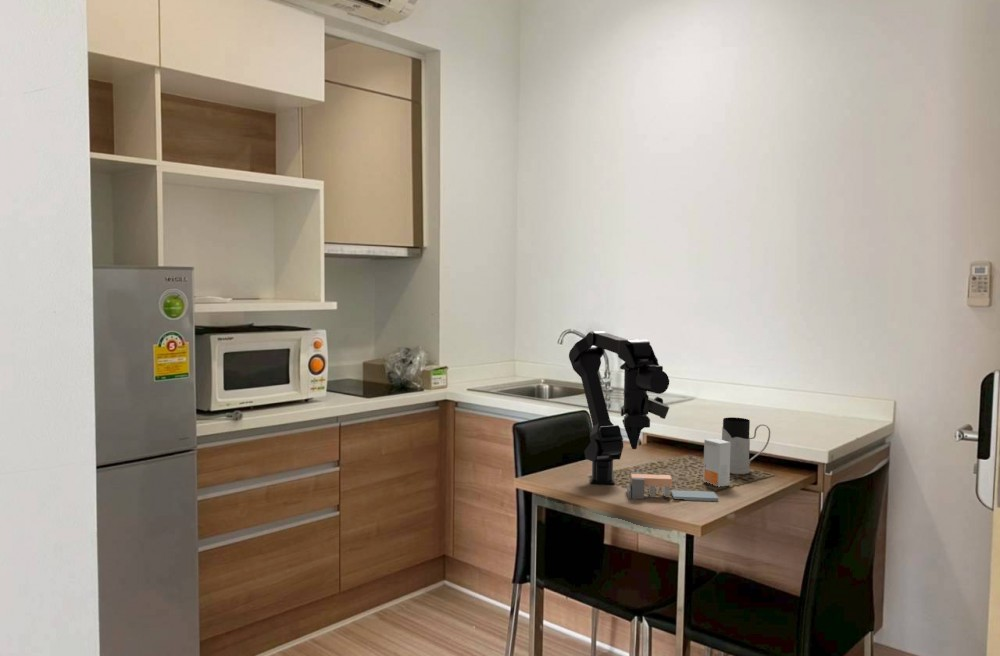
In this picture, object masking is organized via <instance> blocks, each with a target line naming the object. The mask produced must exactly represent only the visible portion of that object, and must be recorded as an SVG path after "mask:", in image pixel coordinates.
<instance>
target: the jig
mask: <svg viewBox="0 0 1000 656" xmlns="http://www.w3.org/2000/svg"><path fill="white" fill-rule="evenodd" d="M631 474H643V472H637V471H636V472H630V475H629V478H630V482H629V483H628V482H627V483H626V492H627V497H628V499H630V500H631V499H634V500H645V486H644V478H632V484H631ZM670 489H671V487H663V493H664V495H663V497H664V496H665V497H670V494H671V490H670ZM648 495H650V496H649V497H650V498H655V496H656V486H648ZM665 497H664V498H665Z"/></svg>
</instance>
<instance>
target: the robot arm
mask: <svg viewBox="0 0 1000 656" xmlns="http://www.w3.org/2000/svg"><path fill="white" fill-rule="evenodd" d="M605 351H609V352H611V353H615V354H616V355H617V357H618V359H619V360H621V361H623V362H624V363H622V364H621V366H620V367H619V369H620V370H623V371H624V376H623V377H624V378H623V382H624V383H623V405H622V406H620V416H621V417H623V419H621V420H622V423H623V424H622V425H623V427H624V430H625V433H626V436H627V438H628V442H629V444H630V447H631V449H632V450H636V449H637V447H638V444H639V439H640V435H641V432H642V430H643V429H645V428H651V419H650V417H649V413H650V414H652V415H655V416H657V417H659V418H661V419H662V420H663V419H664V420H665V419H666V418H667V415H668V413H669V409H670V406H669V405H667V404H666V403H664V400H663V398H662V397H659V396H656V397H655V398H654V399H653V398H650V397H649V394H648V393H652V394H658V395H659V394H663V393H665V392H666V391H667V390H668V389H669V386H670V379H669V375H668V374H667V373H666V372H665V371H663V370H664V367H663V365H660V363H659V361H658V360H659V359H658V358H657V356H656V354H655V352H654V349H653V347H652V345H651V343H650V341H649V340H648V339H626V338H625V337H624V338H623V337H620V336H617V335H614V334H610V333H609V332H608V333H607V332H606V331H603V330H600V331H599V330H598V331H597V330H596V331H595V330H593V331H590V332H588V333H587V334H586V336H584V337H583V338H582V339H580V340H579V341H577V342H576V343H574V344H573V346H572V348H571V349H570V350H569V353H568V359H569V361H570V364H571V366H572V367H571V368H572V370H573V371H574V372H575V373H576V374H577V375H578V376H579V377H580V380H581V382H582V386H583V391H584V394H585V399H586V400H585V401H586V405H587V407H588V410H589V415H590V419H591V424H592V428H591V431H590V434H589V441H590V443H588V445H587V447H586V448H585V449H584V452H583V453H584V458H585V460H588V461H591V465H592V466H591V476H590V477H589V480H590V484H597V485H598V484H599V485H600V484H601V485H615V482H616V481H615V477H614V460H621V458H622V452H623V448H624V441H623V440H624V437H623V435H622V432H621V427H620V426H619V425H618V424H617V425H616V424H613V423H612V421H611V419H610V414H609V411H608V407H607V403H606V399H605V394H604V391H603V388H602V386H603V385H602V384H601V379H600V376H599V375H600V374H599V372H600V368H601V364H602V360H601V358H602V357H603V356H604V354H606V352H605ZM647 392H648V393H647ZM624 415H625V416H624Z"/></svg>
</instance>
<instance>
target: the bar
mask: <svg viewBox="0 0 1000 656" xmlns="http://www.w3.org/2000/svg"><path fill="white" fill-rule="evenodd" d="M630 474H631V473H630ZM632 478H644V487H649V486H655V487H663V488H664V487H670V488H672V485H673V479H672V476H671V475H670V474H649V473H645V474H644V473H642V474H631V484H632Z"/></svg>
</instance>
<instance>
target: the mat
mask: <svg viewBox="0 0 1000 656" xmlns="http://www.w3.org/2000/svg"><path fill="white" fill-rule="evenodd" d="M671 493H672V494H671ZM670 494H671V497H672V496H673V497H672V499H673V498H674V499H684V500H683V501H698V502H699V501H700V502H701V501H702V502H703V501H705V502H719V496H718V495H717V494H716V492H715V491H707V490H706V491H705V490H704V491H703V490H702V491H701V490H673V489H671V490H670ZM674 499H673V500H674Z"/></svg>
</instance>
